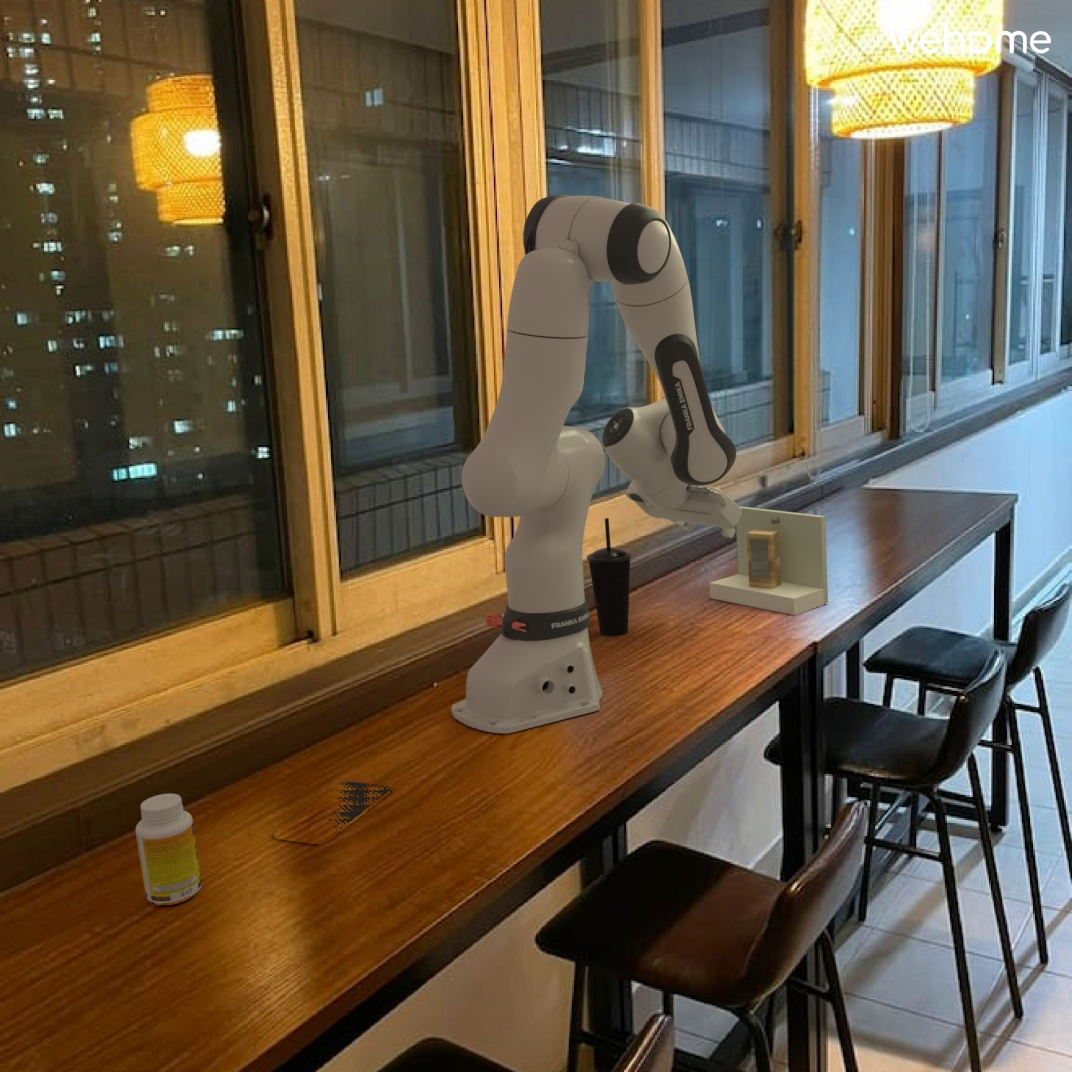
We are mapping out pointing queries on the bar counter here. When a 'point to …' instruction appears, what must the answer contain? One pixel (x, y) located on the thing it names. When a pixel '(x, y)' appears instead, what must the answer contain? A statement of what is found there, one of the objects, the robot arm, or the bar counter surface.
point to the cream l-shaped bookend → (781, 563)
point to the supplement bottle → (167, 850)
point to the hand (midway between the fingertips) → (710, 531)
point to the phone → (360, 800)
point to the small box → (764, 559)
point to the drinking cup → (611, 586)
